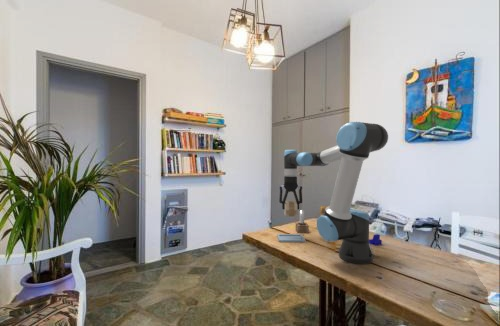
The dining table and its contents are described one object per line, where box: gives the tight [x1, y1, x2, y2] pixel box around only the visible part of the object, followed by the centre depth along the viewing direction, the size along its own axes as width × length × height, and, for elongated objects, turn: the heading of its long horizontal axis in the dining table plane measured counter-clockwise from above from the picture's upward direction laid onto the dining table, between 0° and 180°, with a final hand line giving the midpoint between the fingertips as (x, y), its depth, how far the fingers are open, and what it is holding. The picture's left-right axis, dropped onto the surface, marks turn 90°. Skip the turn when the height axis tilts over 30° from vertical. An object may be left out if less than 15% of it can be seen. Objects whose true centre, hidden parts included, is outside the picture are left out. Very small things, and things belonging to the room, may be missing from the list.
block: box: [285, 200, 298, 218], centre depth 142 cm, size 6×6×8 cm
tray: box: [276, 233, 307, 243], centre depth 142 cm, size 11×15×1 cm
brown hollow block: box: [295, 222, 310, 234], centre depth 157 cm, size 7×7×5 cm
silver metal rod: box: [298, 209, 305, 225], centre depth 157 cm, size 3×3×14 cm
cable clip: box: [369, 233, 382, 246], centre depth 138 cm, size 12×4×6 cm, turn 24°
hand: (290, 214), depth 142 cm, fingers closed on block, 6 cm apart
